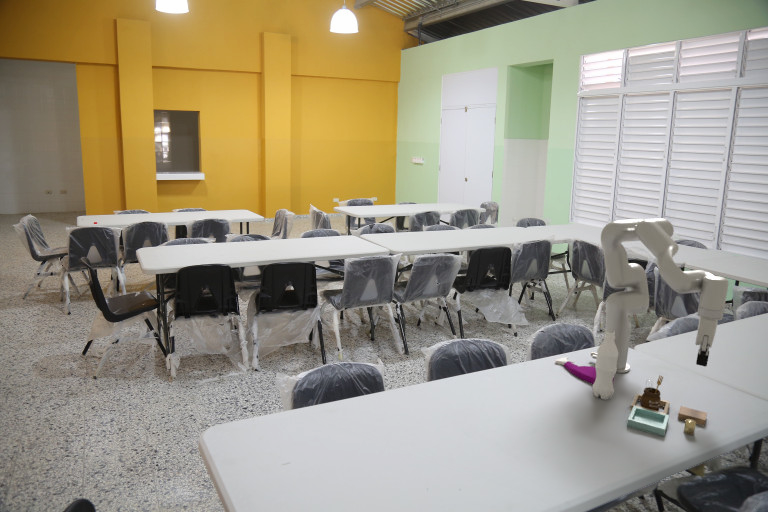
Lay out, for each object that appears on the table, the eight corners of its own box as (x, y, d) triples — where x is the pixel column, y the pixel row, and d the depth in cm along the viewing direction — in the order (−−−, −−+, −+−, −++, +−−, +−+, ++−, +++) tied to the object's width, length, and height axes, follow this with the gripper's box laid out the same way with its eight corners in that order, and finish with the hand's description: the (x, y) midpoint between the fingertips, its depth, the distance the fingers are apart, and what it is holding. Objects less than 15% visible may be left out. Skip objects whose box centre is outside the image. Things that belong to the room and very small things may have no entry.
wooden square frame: (630, 410, 199) (631, 405, 199) (635, 398, 208) (636, 393, 208) (665, 419, 193) (666, 414, 193) (669, 406, 202) (670, 401, 202)
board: (677, 419, 195) (678, 413, 194) (679, 412, 200) (680, 406, 199) (704, 426, 190) (705, 420, 190) (705, 419, 195) (707, 412, 195)
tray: (627, 426, 189) (628, 419, 188) (632, 412, 198) (633, 405, 197) (663, 436, 183) (664, 429, 182) (668, 422, 192) (669, 415, 191)
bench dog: (683, 433, 185) (685, 421, 184) (684, 429, 188) (686, 418, 187) (693, 436, 184) (695, 424, 183) (694, 432, 186) (696, 420, 185)
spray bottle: (597, 388, 216) (549, 365, 237) (616, 383, 221) (568, 360, 242) (597, 381, 215) (549, 358, 236) (617, 376, 220) (568, 353, 241)
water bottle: (609, 392, 212) (617, 328, 206) (615, 401, 205) (624, 335, 199) (589, 391, 213) (597, 327, 207) (594, 400, 206) (602, 334, 200)
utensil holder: (636, 406, 202) (641, 374, 200) (650, 403, 205) (655, 372, 202) (649, 414, 197) (654, 381, 194) (663, 411, 199) (668, 379, 196)
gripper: (699, 304, 203) (691, 352, 207) (695, 316, 189) (687, 368, 193) (724, 308, 199) (715, 357, 203) (722, 321, 185) (712, 374, 189)
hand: (701, 362), depth 198 cm, fingers open, 3 cm apart
